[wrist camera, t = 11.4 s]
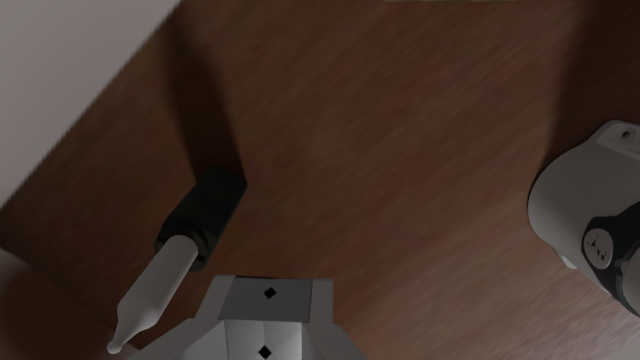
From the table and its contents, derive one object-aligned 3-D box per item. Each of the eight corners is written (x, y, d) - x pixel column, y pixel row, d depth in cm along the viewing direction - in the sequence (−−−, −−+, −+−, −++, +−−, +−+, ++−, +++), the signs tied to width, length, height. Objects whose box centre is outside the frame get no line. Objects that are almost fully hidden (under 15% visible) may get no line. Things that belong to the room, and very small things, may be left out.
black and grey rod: (212, 162, 45) (82, 307, 22) (250, 181, 46) (163, 342, 23) (196, 195, 47) (61, 361, 24) (233, 213, 48) (136, 391, 25)
